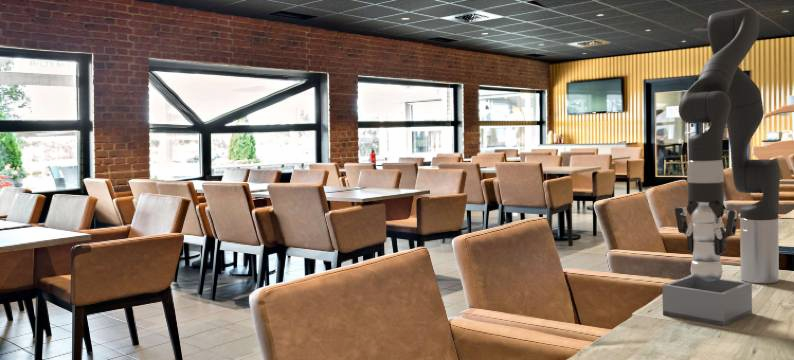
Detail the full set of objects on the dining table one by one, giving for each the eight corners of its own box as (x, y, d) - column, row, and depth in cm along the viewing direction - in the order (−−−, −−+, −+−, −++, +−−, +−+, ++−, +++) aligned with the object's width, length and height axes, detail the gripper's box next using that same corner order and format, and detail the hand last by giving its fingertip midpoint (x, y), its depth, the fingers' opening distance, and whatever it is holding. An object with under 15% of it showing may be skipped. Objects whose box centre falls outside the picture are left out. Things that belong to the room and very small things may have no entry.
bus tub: (692, 303, 165) (691, 274, 164) (752, 313, 154) (751, 283, 153) (662, 314, 156) (662, 285, 155) (724, 326, 145) (723, 294, 144)
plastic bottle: (692, 277, 159) (691, 193, 157) (724, 279, 155) (723, 193, 154) (688, 283, 153) (687, 195, 152) (721, 285, 150) (720, 196, 148)
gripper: (745, 179, 150) (746, 254, 151) (683, 178, 161) (684, 248, 162) (730, 182, 145) (731, 259, 146) (667, 180, 156) (668, 252, 157)
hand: (706, 253), depth 154 cm, fingers closed on plastic bottle, 5 cm apart
